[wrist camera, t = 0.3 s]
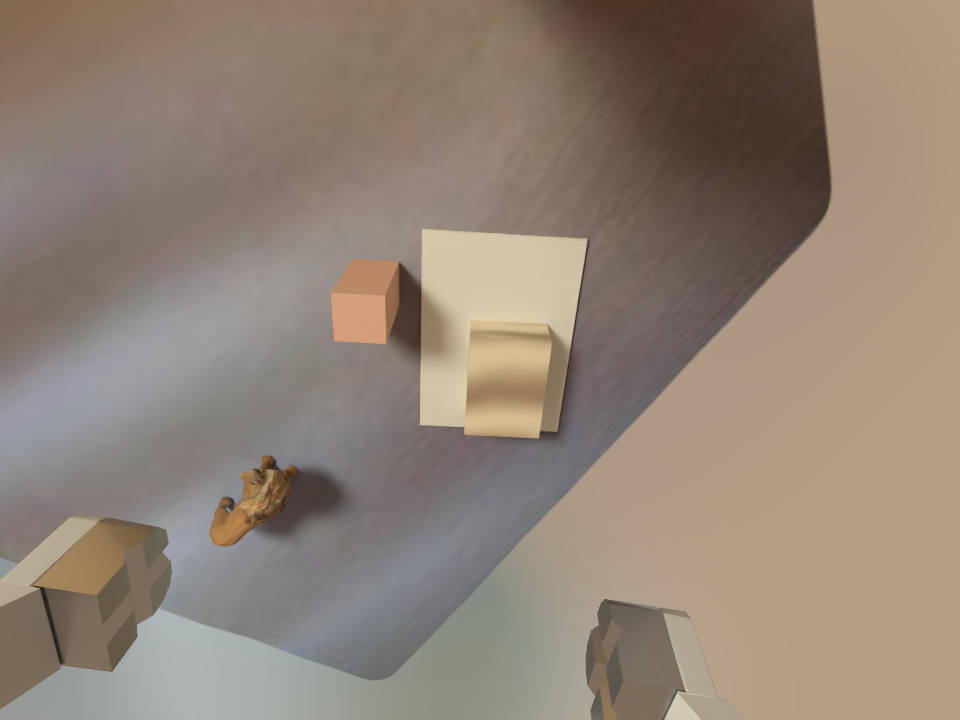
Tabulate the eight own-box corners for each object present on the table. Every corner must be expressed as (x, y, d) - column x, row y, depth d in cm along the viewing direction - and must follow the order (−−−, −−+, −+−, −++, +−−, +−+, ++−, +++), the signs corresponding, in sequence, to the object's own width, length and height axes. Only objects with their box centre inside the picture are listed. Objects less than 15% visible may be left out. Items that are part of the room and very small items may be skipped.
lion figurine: (270, 424, 56) (235, 483, 48) (316, 448, 57) (290, 510, 49) (212, 510, 61) (172, 576, 53) (255, 530, 63) (223, 598, 55)
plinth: (470, 319, 50) (470, 339, 46) (546, 323, 50) (552, 343, 46) (465, 410, 54) (464, 434, 51) (534, 414, 55) (538, 438, 51)
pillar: (352, 258, 47) (330, 292, 40) (399, 261, 47) (385, 295, 40) (355, 301, 49) (334, 341, 42) (399, 304, 49) (386, 343, 42)
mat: (422, 228, 46) (422, 229, 46) (586, 238, 46) (587, 239, 46) (420, 423, 56) (420, 425, 55) (556, 429, 56) (557, 431, 56)
